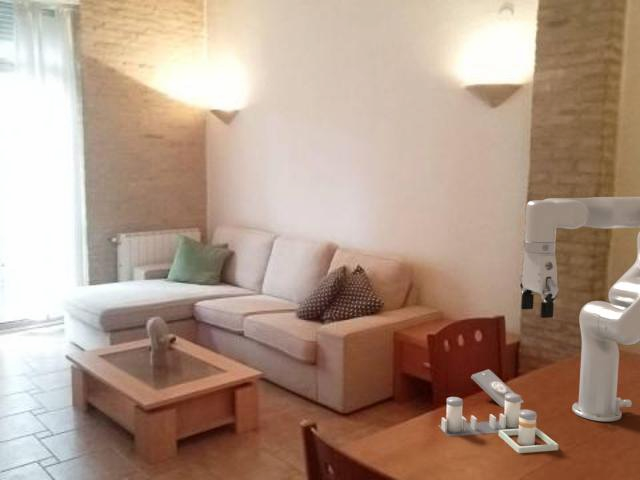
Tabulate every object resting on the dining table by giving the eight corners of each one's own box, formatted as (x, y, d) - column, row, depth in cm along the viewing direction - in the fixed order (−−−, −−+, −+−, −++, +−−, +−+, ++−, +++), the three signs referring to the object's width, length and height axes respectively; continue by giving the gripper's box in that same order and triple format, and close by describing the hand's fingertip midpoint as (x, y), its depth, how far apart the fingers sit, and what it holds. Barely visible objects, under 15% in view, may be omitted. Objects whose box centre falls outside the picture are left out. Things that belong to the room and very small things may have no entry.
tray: (535, 436, 161) (536, 427, 160) (557, 454, 151) (558, 444, 150) (498, 439, 159) (498, 430, 158) (518, 457, 149) (518, 447, 148)
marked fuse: (529, 440, 157) (531, 409, 156) (537, 447, 153) (539, 415, 152) (514, 440, 156) (516, 409, 156) (522, 448, 153) (524, 416, 152)
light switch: (510, 408, 175) (473, 372, 184) (501, 422, 178) (464, 386, 187) (527, 400, 181) (490, 366, 190) (517, 415, 184) (481, 380, 192)
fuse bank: (515, 423, 169) (517, 390, 168) (528, 434, 162) (530, 400, 161) (437, 429, 165) (438, 395, 163) (447, 440, 158) (448, 405, 157)
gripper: (572, 252, 155) (568, 320, 157) (535, 244, 172) (532, 305, 174) (544, 252, 154) (540, 321, 156) (510, 244, 171) (507, 306, 173)
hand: (536, 313), depth 165 cm, fingers open, 9 cm apart
